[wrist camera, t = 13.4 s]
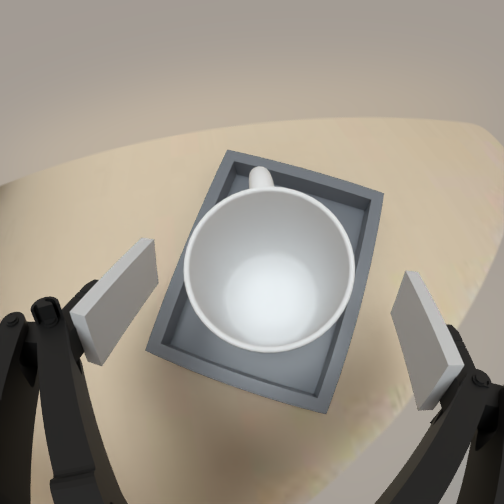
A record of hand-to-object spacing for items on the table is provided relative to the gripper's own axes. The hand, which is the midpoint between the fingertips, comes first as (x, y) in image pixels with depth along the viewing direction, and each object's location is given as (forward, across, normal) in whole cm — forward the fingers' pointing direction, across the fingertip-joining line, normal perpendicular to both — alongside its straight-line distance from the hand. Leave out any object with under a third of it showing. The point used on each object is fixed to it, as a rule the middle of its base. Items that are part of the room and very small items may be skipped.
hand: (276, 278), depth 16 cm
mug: (+8, -1, -5) cm, 10 cm away
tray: (+9, 0, -6) cm, 10 cm away
